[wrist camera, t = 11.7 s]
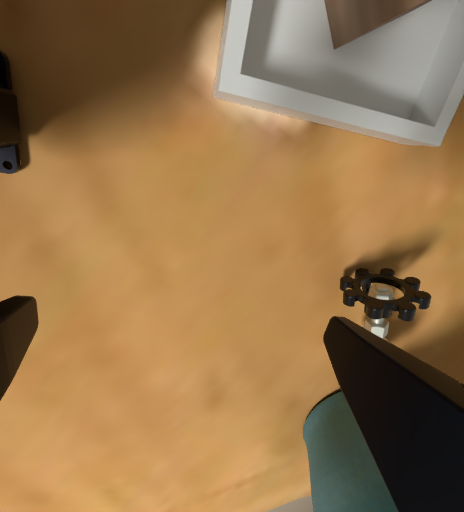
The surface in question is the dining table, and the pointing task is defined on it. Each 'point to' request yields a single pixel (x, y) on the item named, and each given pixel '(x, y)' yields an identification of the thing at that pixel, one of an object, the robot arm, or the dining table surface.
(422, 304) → the valve
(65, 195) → the dining table surface
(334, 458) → the flower pot
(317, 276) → the dining table surface
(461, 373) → the dining table surface
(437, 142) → the tray
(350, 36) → the walnut block
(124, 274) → the dining table surface
